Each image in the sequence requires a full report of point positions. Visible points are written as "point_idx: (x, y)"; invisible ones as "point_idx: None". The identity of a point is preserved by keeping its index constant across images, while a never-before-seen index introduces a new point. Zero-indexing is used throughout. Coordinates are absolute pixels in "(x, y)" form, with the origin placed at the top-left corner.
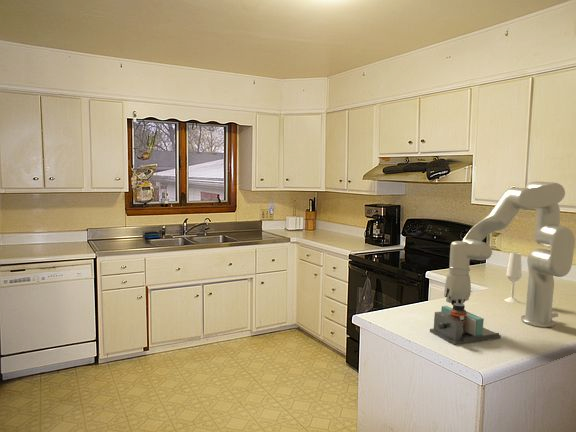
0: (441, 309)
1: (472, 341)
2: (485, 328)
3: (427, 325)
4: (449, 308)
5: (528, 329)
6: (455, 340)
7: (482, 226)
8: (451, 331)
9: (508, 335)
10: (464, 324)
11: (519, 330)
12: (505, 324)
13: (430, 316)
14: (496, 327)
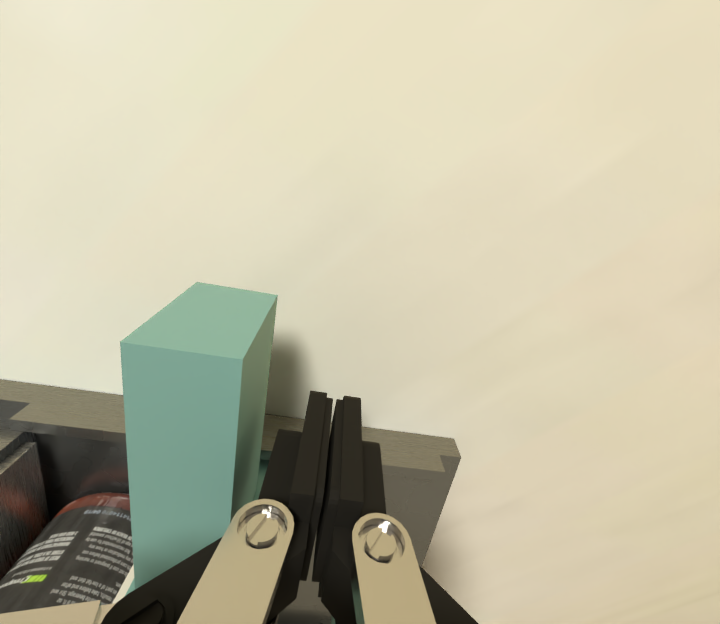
0: (153, 317)
1: None
2: (424, 554)
3: (29, 242)
4: (176, 479)
5: (701, 603)
6: None
7: None
8: None
9: (484, 610)
10: None
11: (636, 594)
12: (698, 510)
13: (288, 7)
14: (574, 519)
